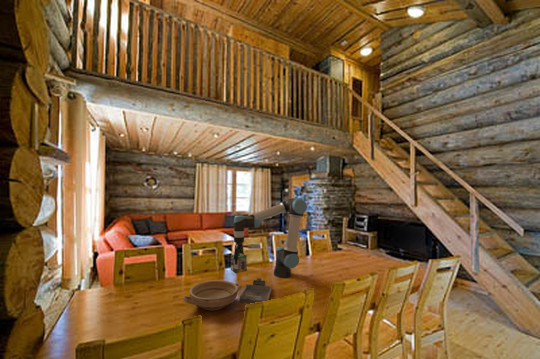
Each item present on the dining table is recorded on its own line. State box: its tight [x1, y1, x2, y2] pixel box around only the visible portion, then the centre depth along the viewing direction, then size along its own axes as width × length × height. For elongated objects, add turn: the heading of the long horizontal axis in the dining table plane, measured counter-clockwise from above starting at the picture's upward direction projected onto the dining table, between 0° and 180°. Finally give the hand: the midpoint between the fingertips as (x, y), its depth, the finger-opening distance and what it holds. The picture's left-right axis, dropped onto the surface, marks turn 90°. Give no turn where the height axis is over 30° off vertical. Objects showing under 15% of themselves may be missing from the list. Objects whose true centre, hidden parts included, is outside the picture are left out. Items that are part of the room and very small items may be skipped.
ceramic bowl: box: [182, 279, 242, 312], centre depth 148 cm, size 37×29×10 cm
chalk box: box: [230, 253, 248, 274], centre depth 181 cm, size 9×9×15 cm
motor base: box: [238, 277, 273, 304], centre depth 164 cm, size 23×18×8 cm
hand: (238, 265), depth 181 cm, fingers closed on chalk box, 12 cm apart
